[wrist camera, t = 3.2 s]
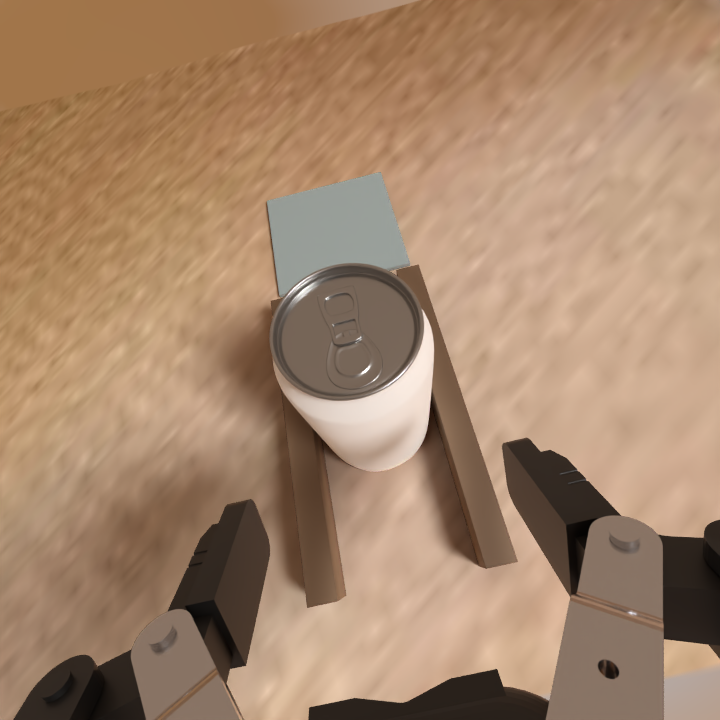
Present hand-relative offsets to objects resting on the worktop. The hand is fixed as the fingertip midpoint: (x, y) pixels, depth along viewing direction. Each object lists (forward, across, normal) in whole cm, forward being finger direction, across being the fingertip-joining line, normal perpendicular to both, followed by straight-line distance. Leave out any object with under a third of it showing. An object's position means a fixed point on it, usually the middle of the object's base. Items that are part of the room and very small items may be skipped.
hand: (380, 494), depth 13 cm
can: (+12, 0, +4) cm, 13 cm away
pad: (+23, 0, -8) cm, 24 cm away
